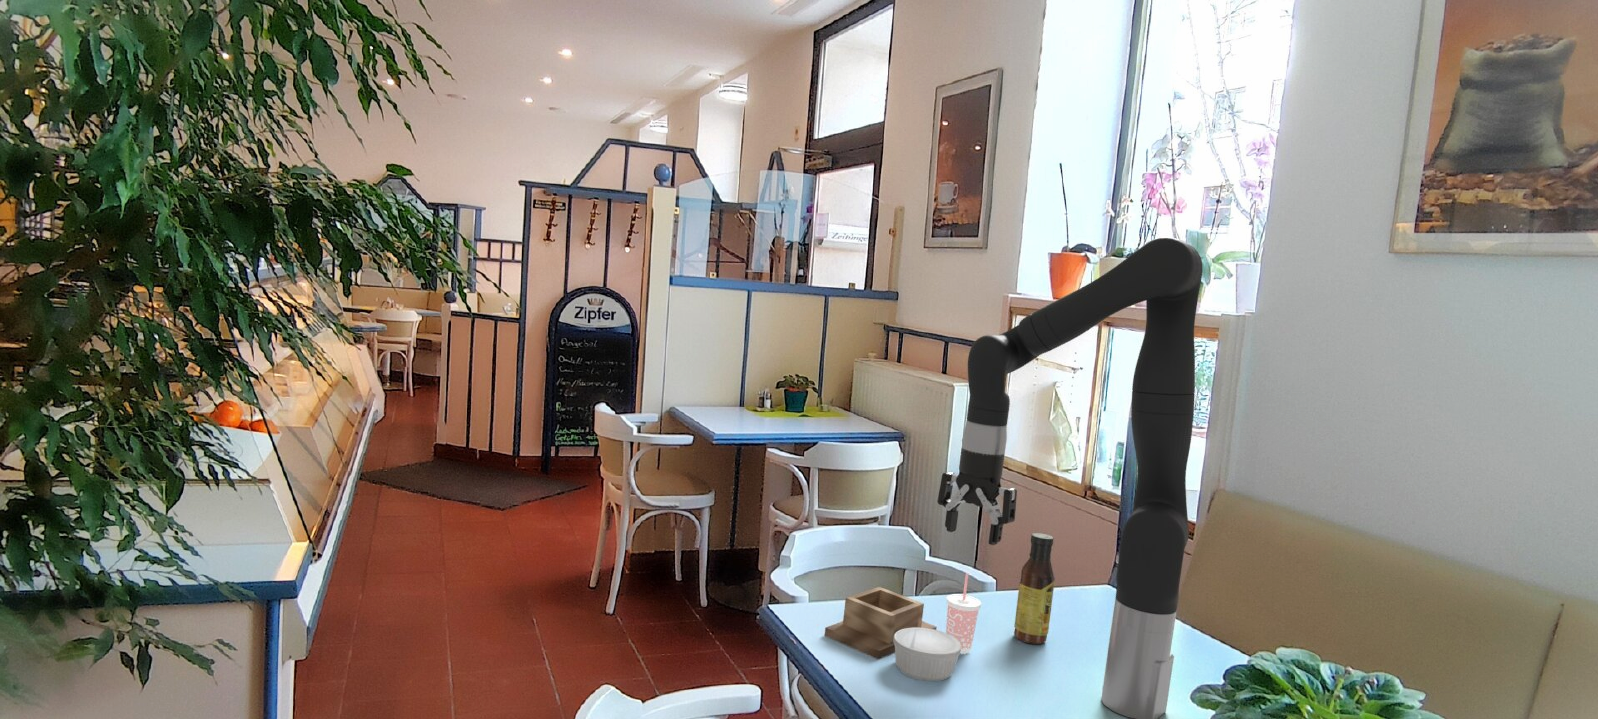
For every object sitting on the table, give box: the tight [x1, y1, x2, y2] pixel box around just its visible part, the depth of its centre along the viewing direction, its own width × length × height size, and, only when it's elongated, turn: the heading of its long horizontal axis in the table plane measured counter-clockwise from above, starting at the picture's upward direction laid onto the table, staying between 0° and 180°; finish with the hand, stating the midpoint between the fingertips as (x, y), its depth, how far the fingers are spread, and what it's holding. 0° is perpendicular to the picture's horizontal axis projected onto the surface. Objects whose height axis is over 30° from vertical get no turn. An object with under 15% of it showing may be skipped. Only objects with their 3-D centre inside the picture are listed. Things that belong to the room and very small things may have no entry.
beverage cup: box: [945, 572, 982, 655], centre depth 163 cm, size 6×6×14 cm
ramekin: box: [893, 628, 961, 682], centre depth 153 cm, size 11×11×5 cm
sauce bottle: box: [1013, 532, 1056, 645], centre depth 171 cm, size 7×6×20 cm
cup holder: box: [824, 586, 938, 660], centre depth 166 cm, size 12×18×6 cm, turn 139°
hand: (971, 537), depth 162 cm, fingers open, 8 cm apart
